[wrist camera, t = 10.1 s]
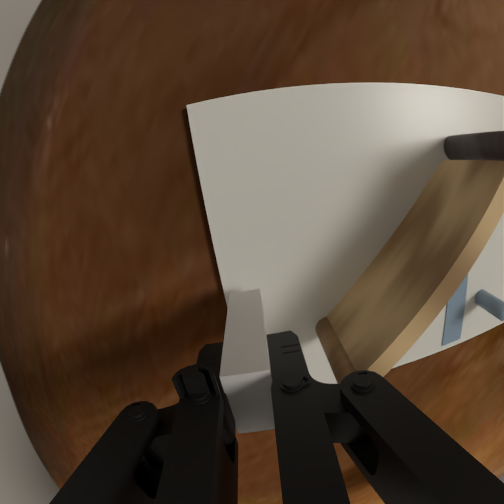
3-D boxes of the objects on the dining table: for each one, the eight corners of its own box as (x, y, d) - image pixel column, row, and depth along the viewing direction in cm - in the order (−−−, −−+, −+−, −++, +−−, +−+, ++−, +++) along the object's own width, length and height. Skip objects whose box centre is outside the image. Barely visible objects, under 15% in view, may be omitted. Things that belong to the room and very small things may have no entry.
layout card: (187, 106, 14) (172, 89, 11) (520, 101, 13) (548, 97, 10) (250, 396, 18) (251, 432, 15) (522, 309, 18) (545, 323, 14)
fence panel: (440, 157, 14) (515, 158, 8) (453, 174, 14) (527, 181, 8) (310, 330, 16) (337, 401, 10) (327, 341, 16) (359, 411, 11)
